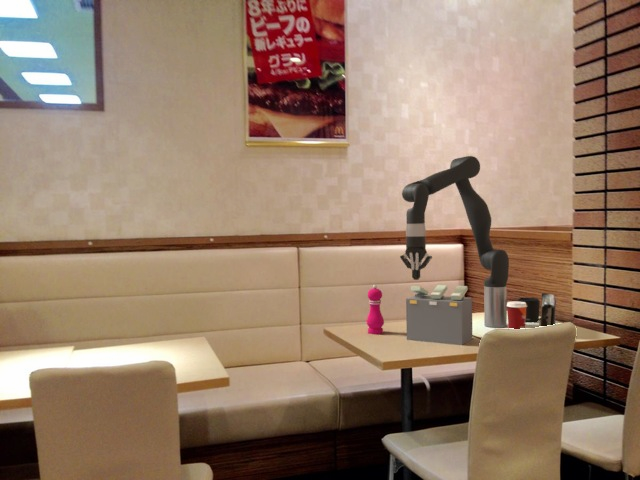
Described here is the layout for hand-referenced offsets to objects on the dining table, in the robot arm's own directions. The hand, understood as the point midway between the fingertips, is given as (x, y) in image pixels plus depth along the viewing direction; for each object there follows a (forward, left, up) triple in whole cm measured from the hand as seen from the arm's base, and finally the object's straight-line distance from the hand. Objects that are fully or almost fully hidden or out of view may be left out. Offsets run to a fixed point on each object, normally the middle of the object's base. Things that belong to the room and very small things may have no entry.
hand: (416, 279), depth 225 cm
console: (-3, +8, -23) cm, 25 cm away
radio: (-35, +43, -24) cm, 60 cm away
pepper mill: (-4, -20, -24) cm, 31 cm away
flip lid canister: (-18, +34, -24) cm, 45 cm away
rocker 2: (-3, +8, -5) cm, 10 cm away
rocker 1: (-3, 0, -5) cm, 6 cm away
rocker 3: (-3, +16, -5) cm, 17 cm away
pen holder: (-58, +30, -24) cm, 69 cm away
